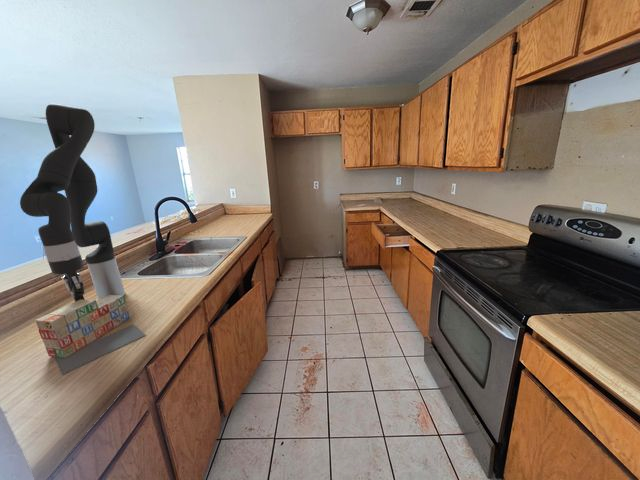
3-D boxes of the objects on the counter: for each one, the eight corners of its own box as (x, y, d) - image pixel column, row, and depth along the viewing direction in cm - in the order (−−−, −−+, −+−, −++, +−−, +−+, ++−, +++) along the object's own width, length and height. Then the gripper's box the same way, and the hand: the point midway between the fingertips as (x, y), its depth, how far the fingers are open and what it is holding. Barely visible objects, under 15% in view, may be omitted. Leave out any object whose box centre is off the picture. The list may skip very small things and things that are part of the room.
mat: (54, 358, 76) (54, 358, 76) (133, 324, 91) (133, 324, 91) (63, 375, 69) (62, 374, 69) (146, 335, 84) (145, 334, 84)
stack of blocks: (116, 317, 96) (108, 286, 93) (130, 318, 95) (122, 287, 92) (48, 356, 76) (34, 319, 73) (64, 358, 75) (51, 321, 72)
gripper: (43, 256, 82) (61, 304, 87) (52, 264, 75) (71, 316, 80) (74, 249, 88) (89, 295, 93) (85, 256, 80) (101, 305, 85)
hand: (81, 305), depth 86 cm, fingers closed
